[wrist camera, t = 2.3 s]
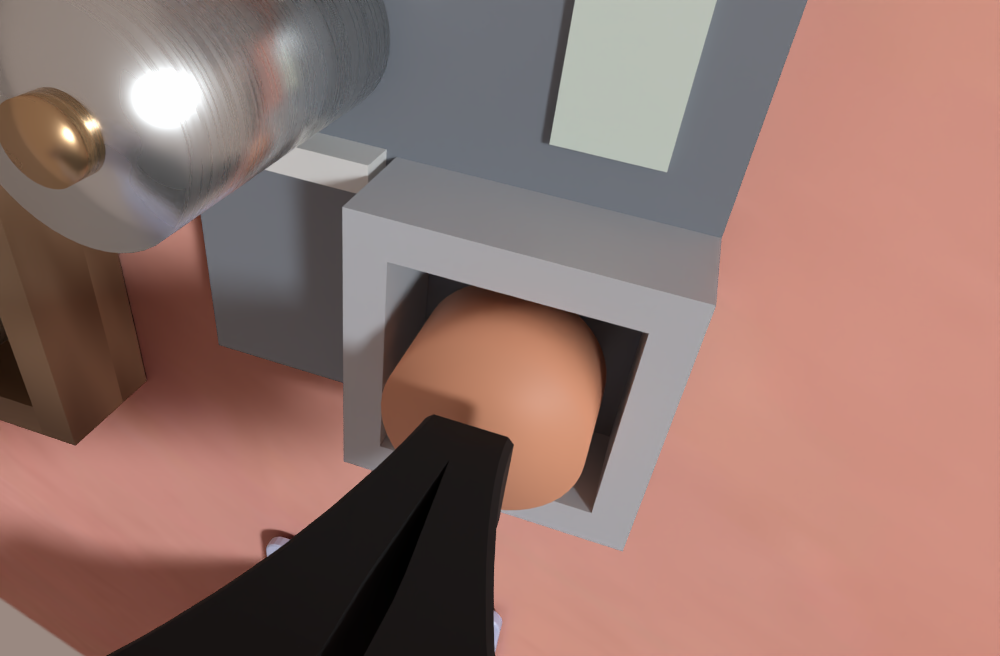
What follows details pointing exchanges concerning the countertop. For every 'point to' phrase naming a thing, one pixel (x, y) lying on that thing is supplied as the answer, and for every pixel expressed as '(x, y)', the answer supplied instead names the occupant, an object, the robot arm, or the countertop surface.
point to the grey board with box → (514, 208)
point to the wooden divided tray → (61, 330)
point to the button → (505, 385)
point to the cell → (168, 103)
